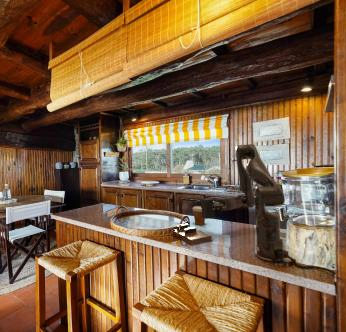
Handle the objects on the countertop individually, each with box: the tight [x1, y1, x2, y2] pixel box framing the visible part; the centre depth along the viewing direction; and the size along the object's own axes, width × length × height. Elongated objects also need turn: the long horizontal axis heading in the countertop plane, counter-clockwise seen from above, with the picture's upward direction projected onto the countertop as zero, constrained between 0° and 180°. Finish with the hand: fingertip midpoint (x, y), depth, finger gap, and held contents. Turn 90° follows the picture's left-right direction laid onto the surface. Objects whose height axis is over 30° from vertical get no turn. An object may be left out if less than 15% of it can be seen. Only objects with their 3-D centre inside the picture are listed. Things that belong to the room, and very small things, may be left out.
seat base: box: [172, 223, 212, 246], centre depth 126 cm, size 18×14×6 cm
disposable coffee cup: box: [192, 205, 206, 226], centre depth 152 cm, size 10×10×12 cm
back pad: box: [200, 197, 215, 220], centre depth 124 cm, size 4×6×11 cm, turn 110°
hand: (204, 207), depth 123 cm, fingers closed on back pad, 3 cm apart
